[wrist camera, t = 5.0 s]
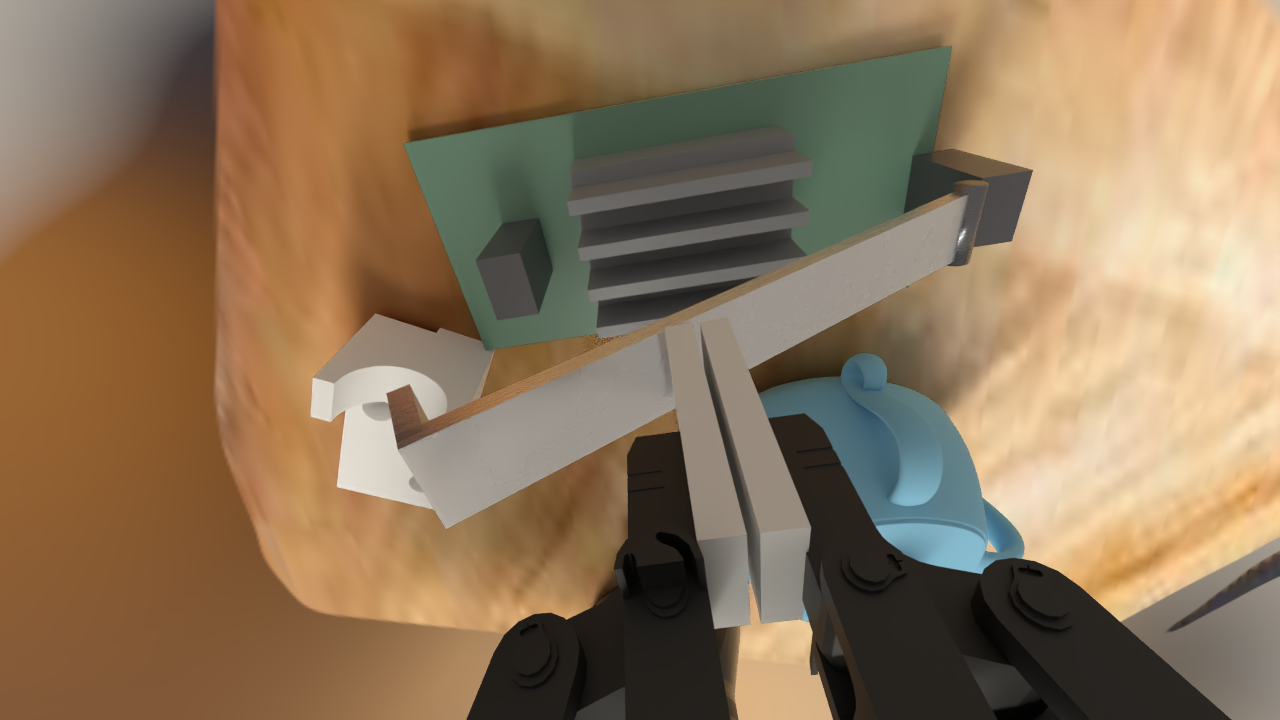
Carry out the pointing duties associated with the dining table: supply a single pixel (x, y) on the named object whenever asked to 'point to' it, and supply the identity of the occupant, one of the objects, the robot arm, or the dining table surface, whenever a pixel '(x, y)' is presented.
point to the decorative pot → (903, 465)
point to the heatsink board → (690, 193)
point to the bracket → (358, 383)
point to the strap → (665, 360)
